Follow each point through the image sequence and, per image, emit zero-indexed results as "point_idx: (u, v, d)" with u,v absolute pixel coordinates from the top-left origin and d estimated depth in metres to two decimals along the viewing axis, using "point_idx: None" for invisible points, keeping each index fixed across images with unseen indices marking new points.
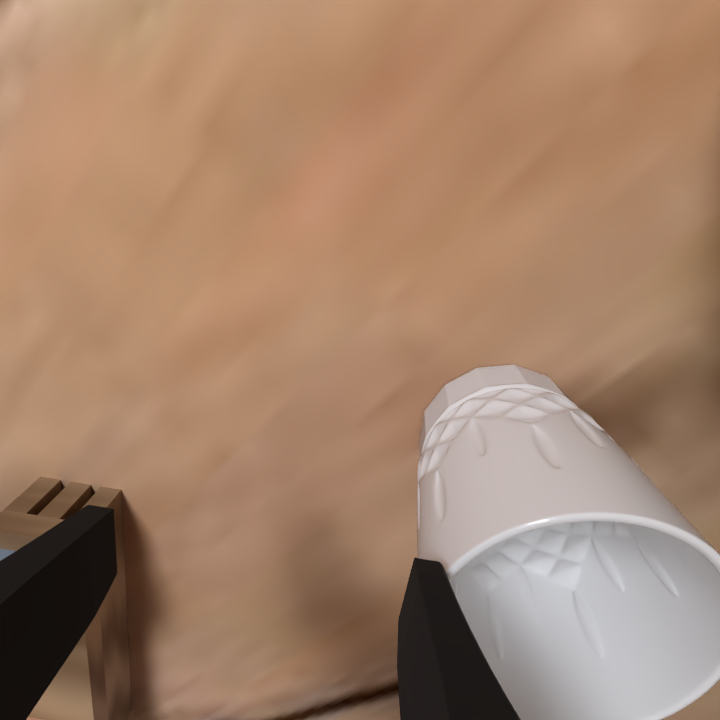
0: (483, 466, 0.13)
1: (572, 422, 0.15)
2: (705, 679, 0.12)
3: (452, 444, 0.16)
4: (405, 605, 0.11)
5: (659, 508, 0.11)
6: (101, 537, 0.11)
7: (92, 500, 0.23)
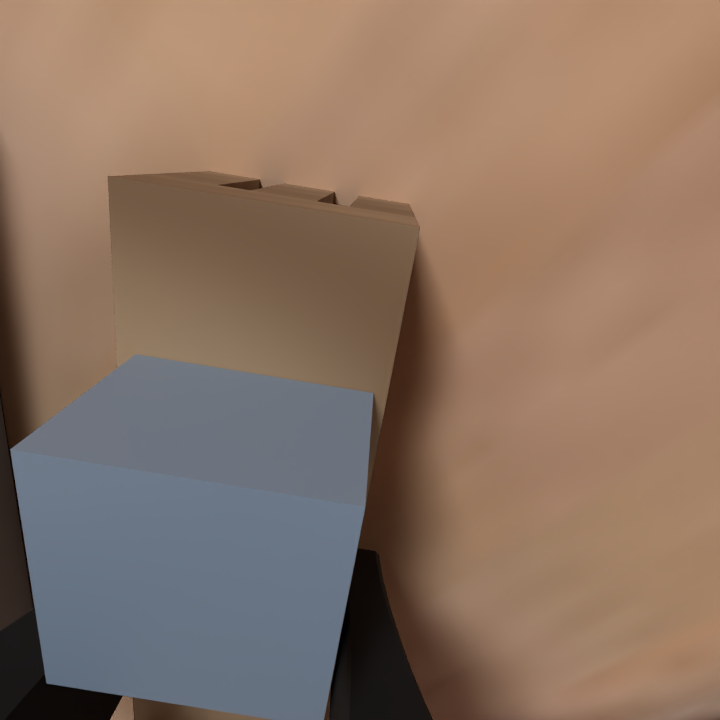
0: None
1: None
2: None
3: None
4: None
5: None
6: None
7: (364, 201, 0.09)
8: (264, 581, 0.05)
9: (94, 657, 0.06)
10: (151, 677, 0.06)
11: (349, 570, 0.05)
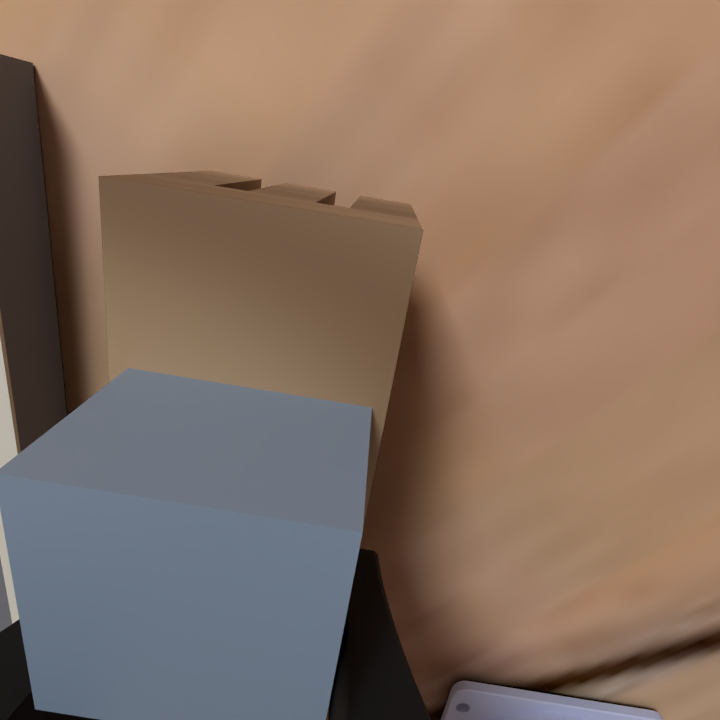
0: None
1: None
2: None
3: None
4: None
5: None
6: None
7: (365, 202, 0.08)
8: (259, 606, 0.05)
9: (83, 684, 0.06)
10: (143, 703, 0.06)
11: (346, 596, 0.05)
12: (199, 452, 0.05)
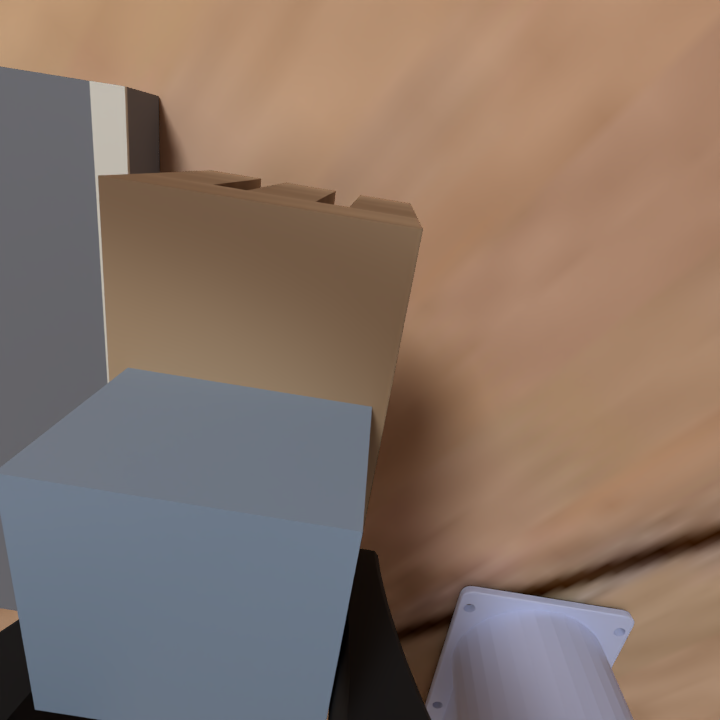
0: None
1: None
2: None
3: None
4: None
5: None
6: None
7: (365, 202, 0.08)
8: (259, 606, 0.05)
9: (83, 684, 0.06)
10: (143, 703, 0.06)
11: (346, 596, 0.05)
12: (199, 452, 0.05)
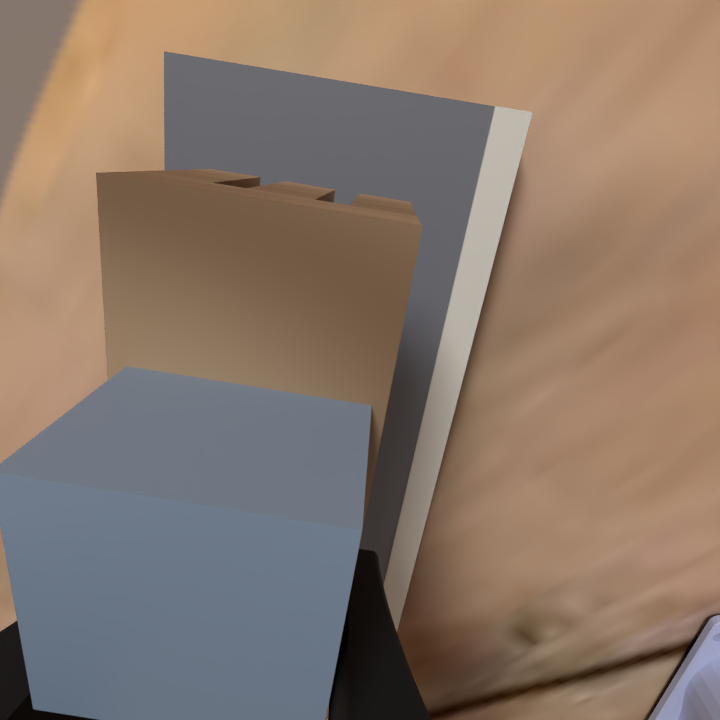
0: None
1: None
2: None
3: None
4: None
5: None
6: None
7: (364, 200, 0.08)
8: (258, 606, 0.05)
9: (82, 683, 0.06)
10: (141, 703, 0.06)
11: (346, 595, 0.05)
12: (197, 450, 0.05)
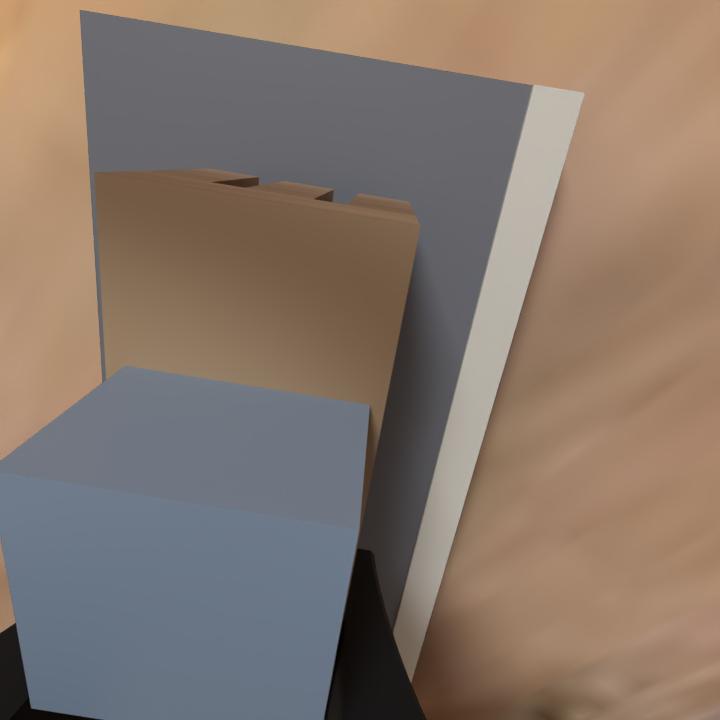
0: None
1: None
2: None
3: None
4: None
5: None
6: None
7: (363, 199, 0.08)
8: (255, 604, 0.05)
9: (80, 682, 0.06)
10: (139, 701, 0.06)
11: (343, 594, 0.05)
12: (195, 449, 0.05)
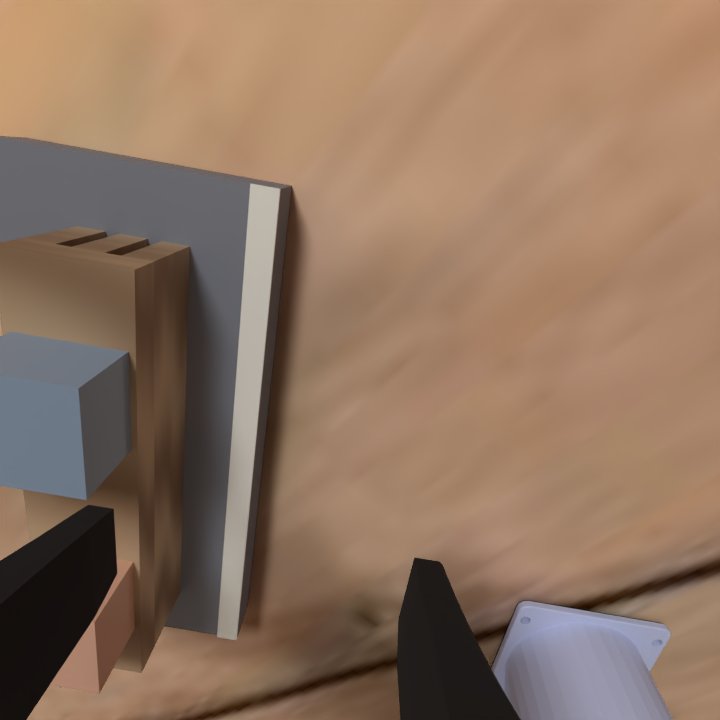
0: None
1: None
2: None
3: None
4: (405, 605, 0.11)
5: None
6: (101, 537, 0.11)
7: (148, 248, 0.16)
8: (46, 422, 0.12)
9: None
10: (7, 473, 0.13)
11: (78, 417, 0.12)
12: (27, 363, 0.13)
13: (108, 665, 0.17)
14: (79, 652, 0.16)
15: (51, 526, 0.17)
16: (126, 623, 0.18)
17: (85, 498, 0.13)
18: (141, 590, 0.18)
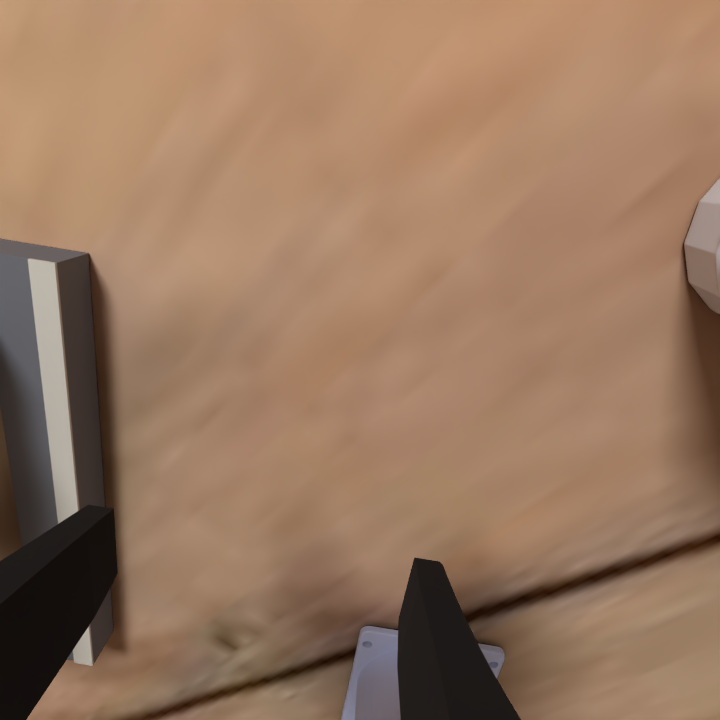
0: None
1: None
2: None
3: None
4: (405, 605, 0.11)
5: None
6: (101, 537, 0.11)
7: None
8: None
9: None
10: None
11: None
12: None
13: None
14: None
15: None
16: None
17: None
18: None
